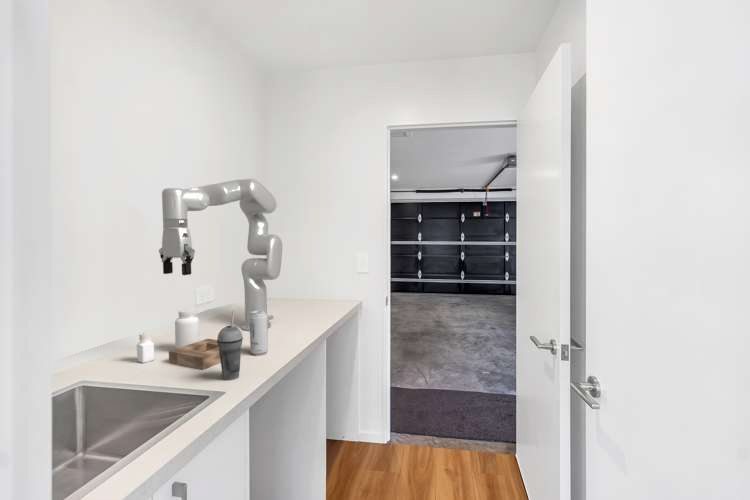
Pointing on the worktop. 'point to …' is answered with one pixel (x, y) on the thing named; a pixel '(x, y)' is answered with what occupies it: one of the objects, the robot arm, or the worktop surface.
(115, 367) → the worktop surface
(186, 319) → the pill bottle
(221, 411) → the worktop surface
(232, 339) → the beverage cup
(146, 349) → the pepper shaker
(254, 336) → the energy drink can
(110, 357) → the worktop surface
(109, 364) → the worktop surface
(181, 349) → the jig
